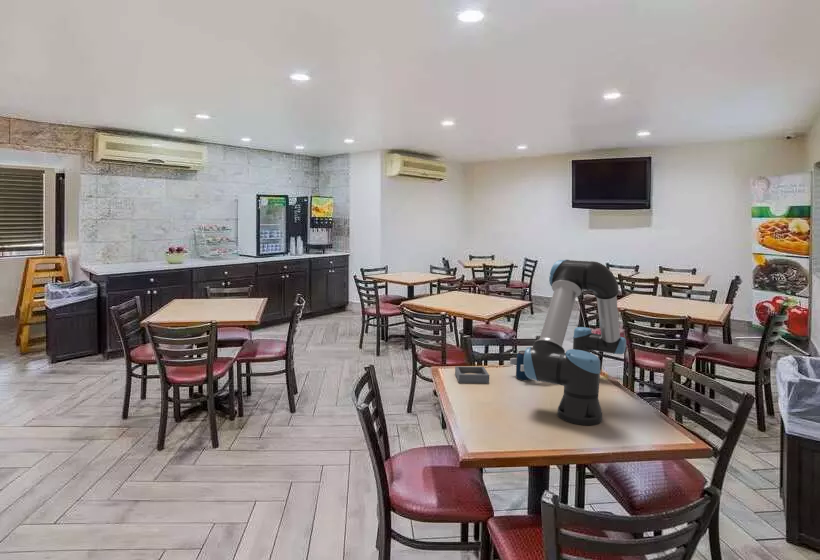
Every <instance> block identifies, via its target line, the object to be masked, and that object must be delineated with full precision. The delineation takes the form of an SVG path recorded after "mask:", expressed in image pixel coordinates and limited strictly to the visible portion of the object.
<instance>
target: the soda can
mask: <svg viewBox="0 0 820 560" xmlns="http://www.w3.org/2000/svg"><path fill="white" fill-rule="evenodd" d="M524 353H525V350H519V351H518V353H517V354H516V358H517V364H515V376H516V378H517V380H519V379H521V380H520V381H524V380H527V381H531V379H529V378H528V377H527V376H526V374H525V371H520V369H521V365H524Z"/></svg>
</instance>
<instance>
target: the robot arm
mask: <svg viewBox="0 0 820 560" xmlns="http://www.w3.org/2000/svg"><path fill="white" fill-rule="evenodd" d="M548 277H549V281H548V282H549V286H551V290H552V291H553V293H552V296H551V297H552V298H551V300H550V303H549V307H548V309H547V313H546V316H545V319H544V323H543V326H542V328H541V332H540V333H541V334H540V335H539V336H540V337H539V339H537V340H535V341H534V342H533V345H532V347H531V346H528V347H526V348H525V350H524V351H525V353H524V365H521V369H520V371H525V374H526V376H527V377H528V378H529V379H530V380H534V381H537V382H541V383H547V384H553V385H558V386H563V393H562V397H561V400H560V402H559V405H558V407H557V414H556V415H557V417H559V419H561V420H563V421H565V422H567V423H570V424H575V425H581V426H595V425H599V424H601V423H602V422H603V411H602V408H601V403H600V400H599V392H600V390H599V389H600V379H601V378H600V377H601V360H600V358H599V357H598V356H597V355H595V354H594V353H592V352H591V351H596V352H602V353H607V354H613V355H615V354H616V355H624V354H625V352H626V348H627V339H626V338H625V337H623V336H621V333H620V323H619V322H620V321H619V309H618V299H617V298H618V297H617V296H618V295H619V292H620V290H619V283H618V281H617V279H616V277H615V275H614V273H613V272H612V271H611V270H610V269H609V268H608V267H607V266H606V265H604V264H602V263H601V262H598V261H592V260H591V261H590V260H589V261H588V260H573V259H571V260H570V259H558V260H556V261H555V262H554V263H553V264H552V267H551V269H550V272H549V276H548ZM582 291H592V293H593V296H594V297H595V298H596V303H597V311H598V319H599V320H598V321H599V328H600V329H599V330H600V334H599V333H594V332H592V329H591V328H589V327H585V326H577V327H575V328H574V330H573V336H572V337H573V338H572V339H573V340H572V348H570V349H567V350H566V351H565V348H564V347H563V345H564V341H565V337H566V335H567V334H566V333H567V329H568V326H569V322H570V318H571V315H572V311H573V308H574V304H575V301H576V298H578V297H579V296H581V294H582ZM509 360H510V361H509V362H510V363H509V365H516V364H517V357H511V358H509Z"/></svg>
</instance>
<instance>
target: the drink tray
mask: <svg viewBox="0 0 820 560" xmlns="http://www.w3.org/2000/svg"><path fill="white" fill-rule="evenodd" d="M486 369H487V368H485V366H464V365H463V366H462V365H460V366H459V365H456V366H454V375H455V378H456V380H457V382H458V384H490V374H489V373H488V371H487V370H486Z"/></svg>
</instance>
